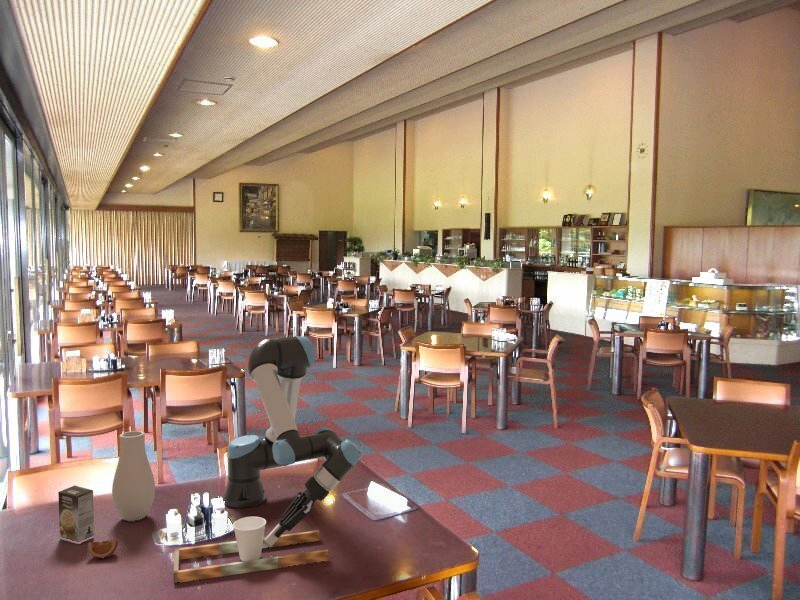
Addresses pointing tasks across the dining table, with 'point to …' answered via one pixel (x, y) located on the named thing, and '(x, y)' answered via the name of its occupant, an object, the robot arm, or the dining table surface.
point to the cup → (249, 537)
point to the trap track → (245, 565)
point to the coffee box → (76, 513)
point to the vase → (133, 478)
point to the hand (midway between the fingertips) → (267, 542)
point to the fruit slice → (102, 548)
